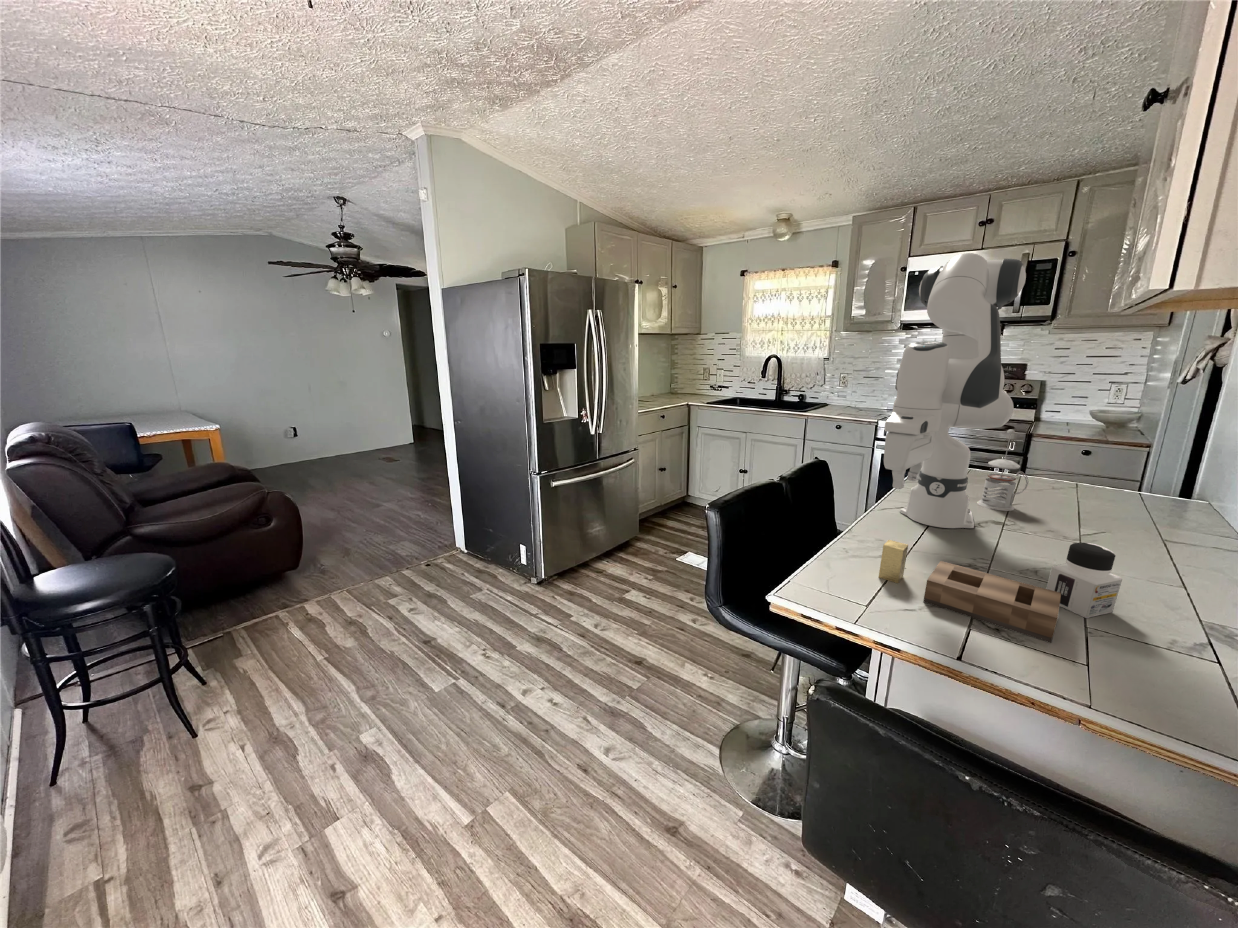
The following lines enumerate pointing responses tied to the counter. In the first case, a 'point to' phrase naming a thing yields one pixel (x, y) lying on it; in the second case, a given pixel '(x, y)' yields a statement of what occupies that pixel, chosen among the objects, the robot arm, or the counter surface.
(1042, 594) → the walnut socket block
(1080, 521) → the counter surface
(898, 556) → the light wooden square bit
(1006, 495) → the french press
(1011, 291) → the robot arm
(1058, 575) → the container
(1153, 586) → the counter surface
